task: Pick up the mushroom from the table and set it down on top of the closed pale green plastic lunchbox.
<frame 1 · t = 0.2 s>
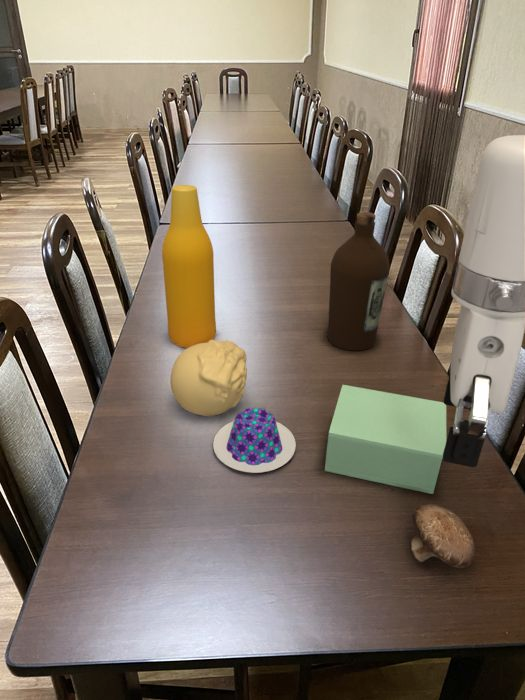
hand: (458, 432, 57), 16 cm above the table, tool pointing down, fingers open, 9 cm apart
beer bottle: (192, 338, 106), on the table
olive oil: (351, 340, 106), on the table
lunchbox: (381, 454, 78), on the table
sculpture: (210, 404, 87), on the table
mushroom: (437, 552, 63), on the table
pudding: (254, 448, 78), on the table
lunchbox lid: (389, 418, 74), point 7 cm above the table, hinge at 0.0°
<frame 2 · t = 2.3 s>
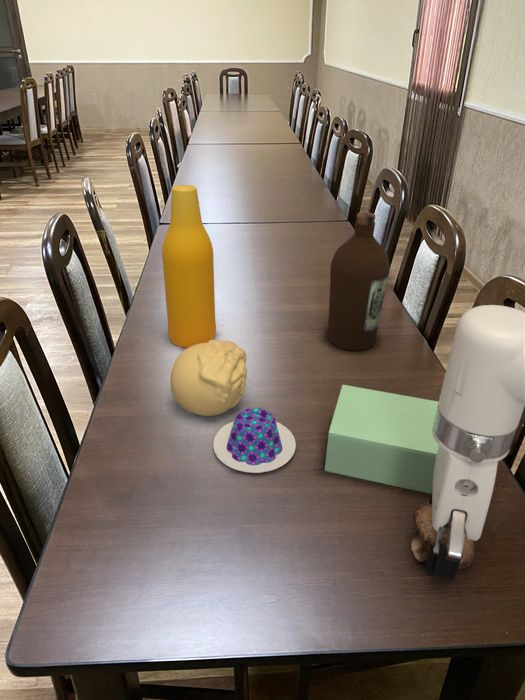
hand: (439, 543, 63), 1 cm above the table, tool pointing down, fingers closed on mushroom, 7 cm apart
mushroom: (437, 552, 63), on the table, touching gripper
everything else where it was.
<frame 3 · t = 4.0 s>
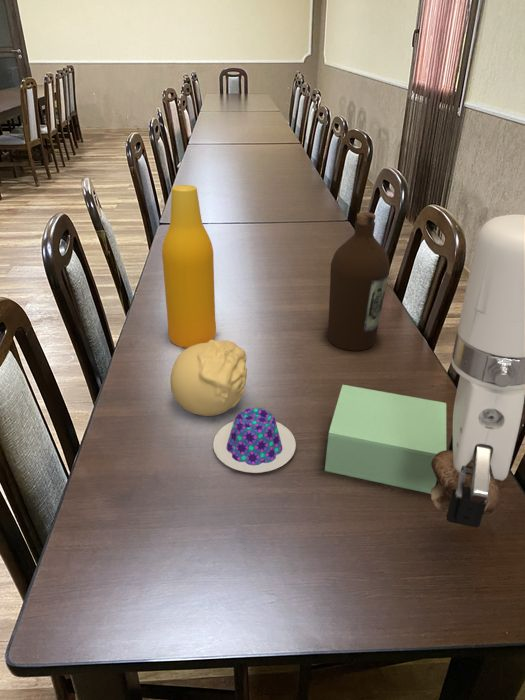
hand: (461, 492, 58), 10 cm above the table, tool pointing down, fingers closed on mushroom, 7 cm apart
mushroom: (459, 503, 59), point 8 cm above the table, touching gripper
everything else where it was.
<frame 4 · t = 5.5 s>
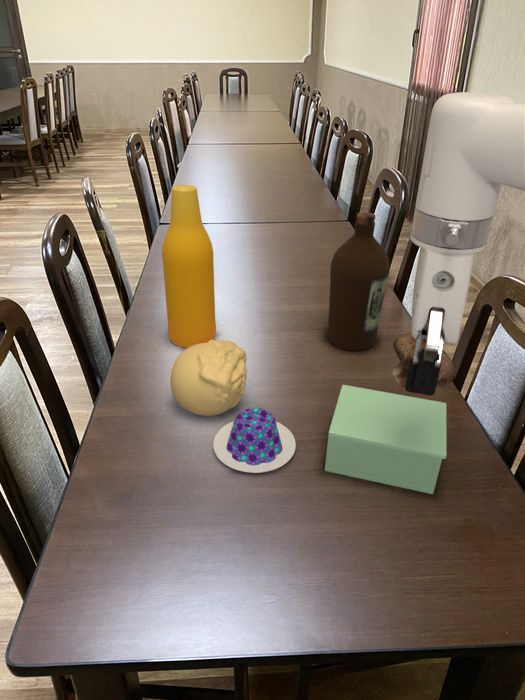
hand: (420, 371, 64), 18 cm above the table, tool pointing down, fingers closed on mushroom, 7 cm apart
mushroom: (418, 383, 64), point 16 cm above the table, touching gripper
everything else where it was.
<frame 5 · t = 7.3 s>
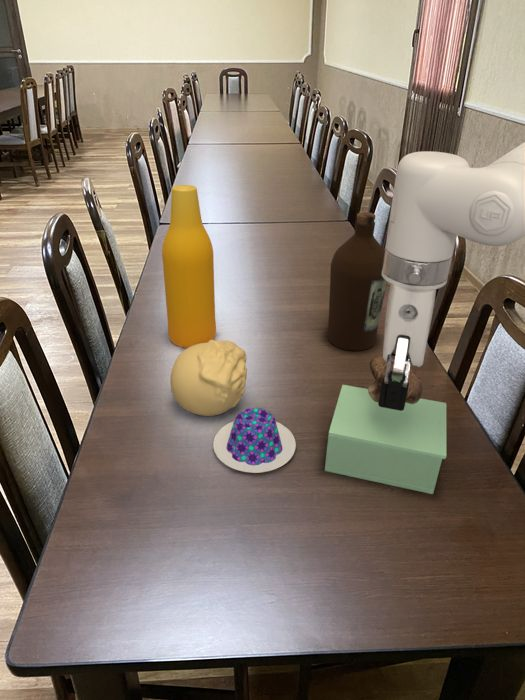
hand: (393, 388, 71), 12 cm above the table, tool pointing down, fingers closed on mushroom, 7 cm apart
mushroom: (392, 398, 72), point 10 cm above the table, touching gripper
everything else where it was.
when the fingers open (8 cm above the table, at t = 8.8 s): mushroom stays where it is, resting on lunchbox lid.
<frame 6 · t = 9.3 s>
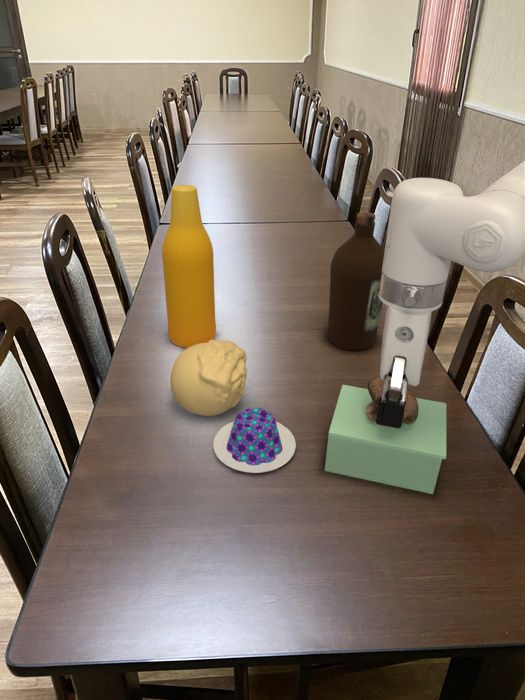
hand: (391, 403, 73), 9 cm above the table, tool pointing down, fingers open, 9 cm apart
mushroom: (389, 418, 74), point 7 cm above the table, touching lunchbox lid
lunchbox lid: (389, 418, 74), point 7 cm above the table, hinge at -0.2°, touching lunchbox, mushroom
everything else where it was.
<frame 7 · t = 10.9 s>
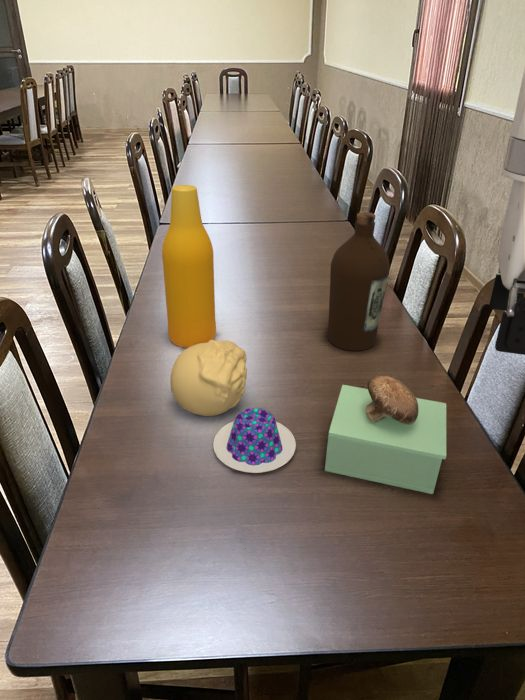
hand: (507, 329, 57), 26 cm above the table, tool pointing down, fingers open, 9 cm apart
nothing on the table moved.
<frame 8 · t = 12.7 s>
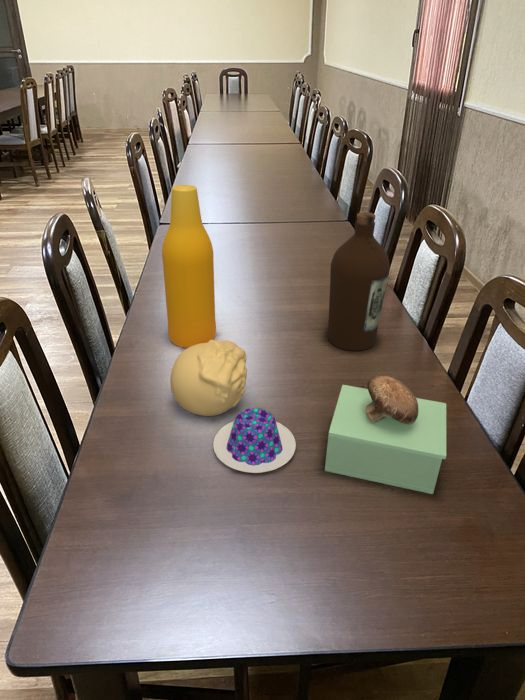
nothing on the table moved.
at the end: mushroom inside the target area on the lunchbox (0.1 cm from its centre), point 6.7 cm above the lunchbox's base; the gripper is holding nothing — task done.
